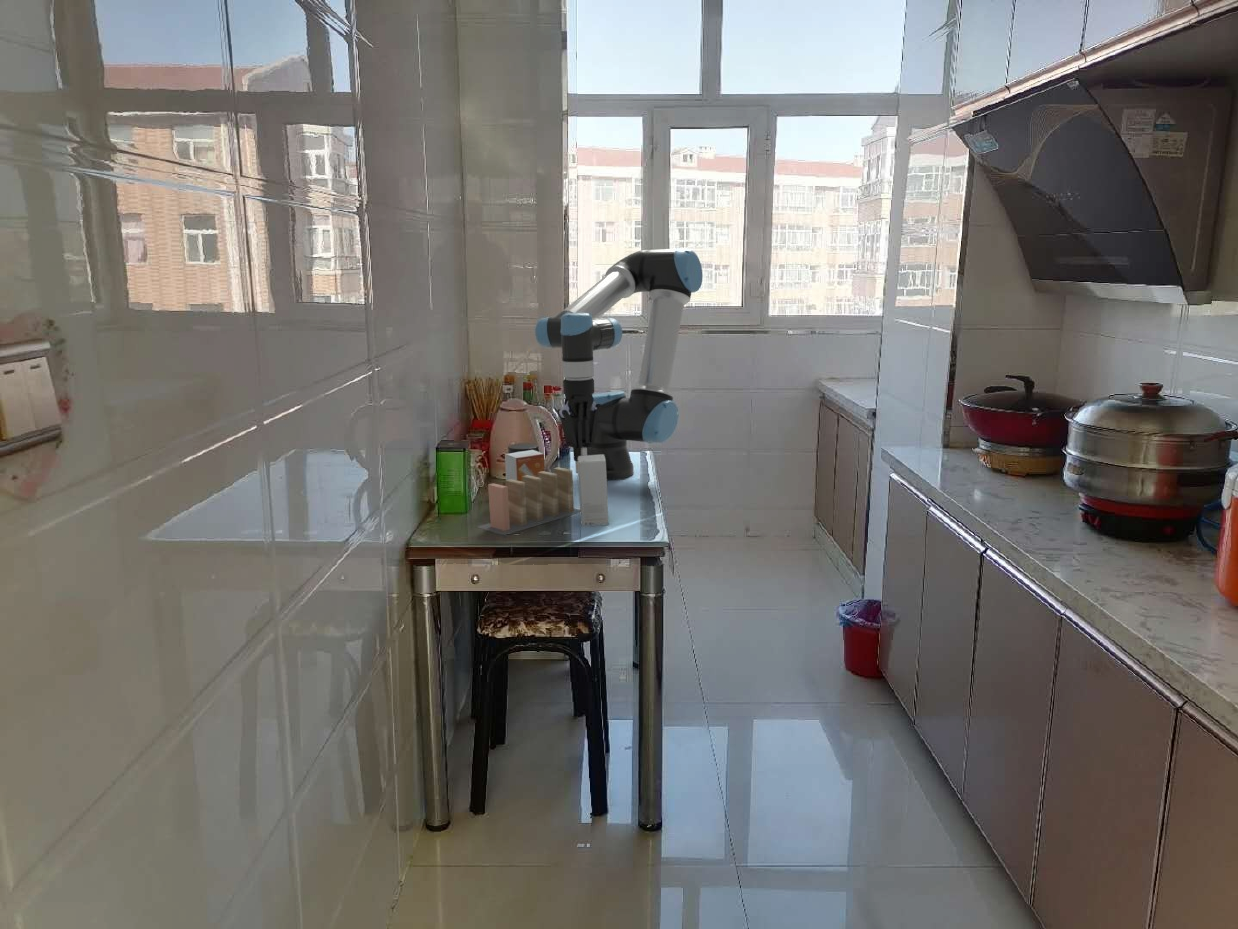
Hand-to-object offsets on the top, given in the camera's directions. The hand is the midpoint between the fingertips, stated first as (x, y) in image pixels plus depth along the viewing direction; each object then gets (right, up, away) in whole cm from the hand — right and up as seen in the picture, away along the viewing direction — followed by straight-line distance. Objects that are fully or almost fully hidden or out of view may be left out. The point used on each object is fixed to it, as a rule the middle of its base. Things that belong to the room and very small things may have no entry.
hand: (581, 473), depth 229 cm
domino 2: (-15, -11, -13) cm, 23 cm away
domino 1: (-18, -12, -17) cm, 27 cm away
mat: (-11, -11, -10) cm, 19 cm away
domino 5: (-4, -9, -3) cm, 10 cm away
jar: (-16, -5, +20) cm, 26 cm away
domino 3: (-11, -11, -10) cm, 18 cm away
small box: (-14, -8, +6) cm, 17 cm away
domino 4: (-8, -10, -6) cm, 14 cm away
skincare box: (+3, -12, -12) cm, 17 cm away
